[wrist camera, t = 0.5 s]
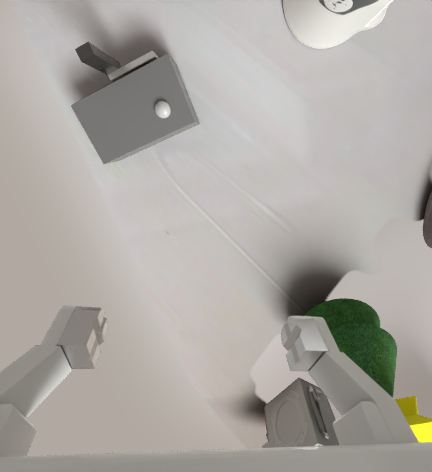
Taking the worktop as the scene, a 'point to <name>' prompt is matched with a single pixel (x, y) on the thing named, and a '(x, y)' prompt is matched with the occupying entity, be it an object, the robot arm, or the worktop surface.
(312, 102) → the worktop surface
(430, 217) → the perforated stone tool
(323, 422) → the portable television
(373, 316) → the decorative tree
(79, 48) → the side door
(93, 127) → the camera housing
